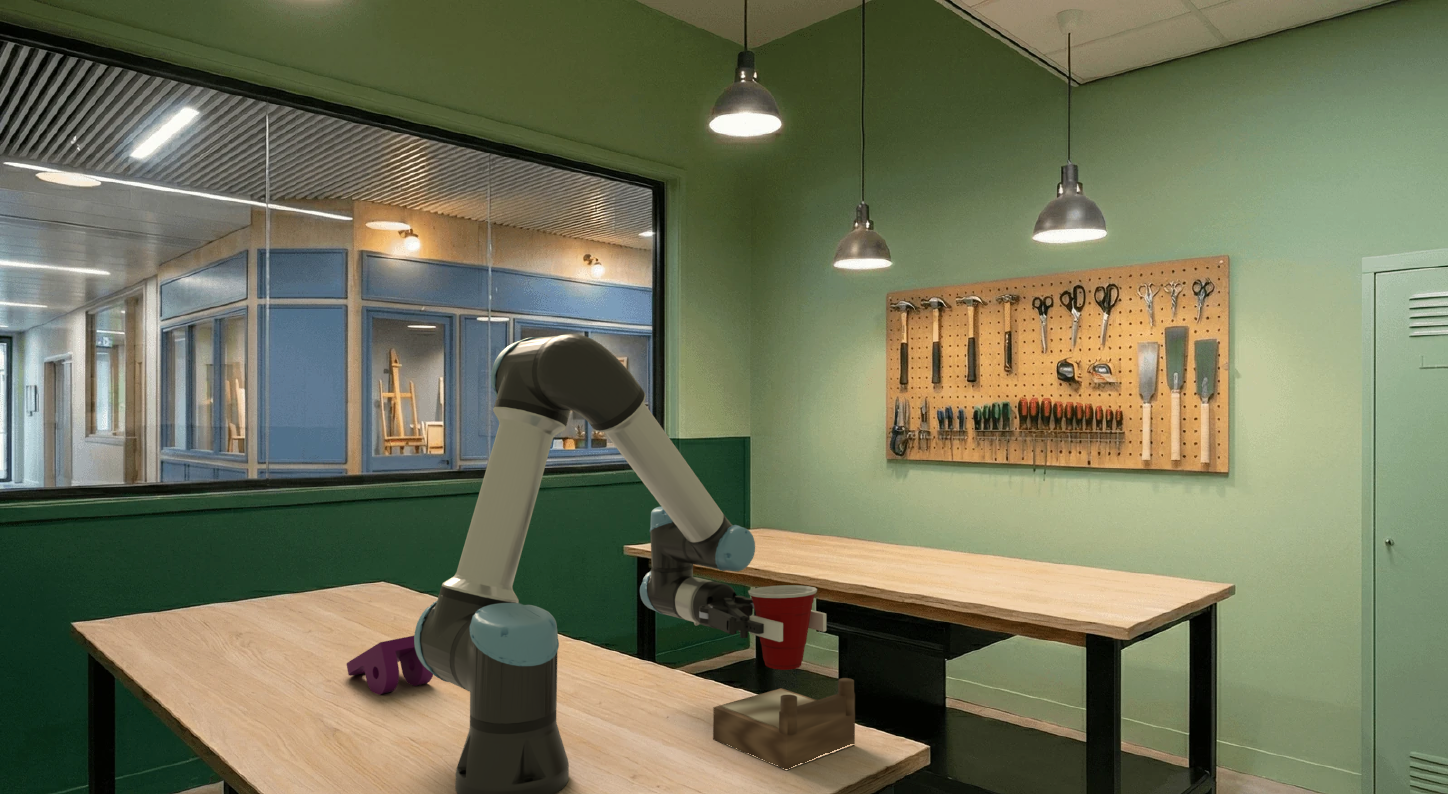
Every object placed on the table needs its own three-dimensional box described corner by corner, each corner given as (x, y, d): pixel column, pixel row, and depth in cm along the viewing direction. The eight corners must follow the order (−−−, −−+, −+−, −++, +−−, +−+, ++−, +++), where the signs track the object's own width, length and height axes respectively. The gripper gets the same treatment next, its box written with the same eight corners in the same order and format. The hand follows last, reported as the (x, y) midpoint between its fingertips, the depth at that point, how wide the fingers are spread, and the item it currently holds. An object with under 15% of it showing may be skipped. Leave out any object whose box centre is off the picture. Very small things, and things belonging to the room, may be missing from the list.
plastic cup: (785, 651, 146) (786, 578, 146) (831, 666, 137) (831, 589, 137) (733, 662, 139) (733, 585, 140) (777, 679, 131) (778, 597, 131)
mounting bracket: (346, 712, 167) (389, 689, 157) (338, 668, 170) (380, 642, 159) (393, 700, 174) (438, 677, 164) (385, 658, 177) (428, 632, 166)
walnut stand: (713, 739, 139) (713, 675, 139) (781, 718, 148) (781, 658, 149) (788, 771, 126) (788, 701, 126) (856, 746, 136) (857, 680, 136)
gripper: (753, 615, 159) (850, 640, 142) (656, 635, 145) (751, 665, 128) (753, 573, 159) (850, 593, 142) (657, 589, 145) (751, 613, 128)
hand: (803, 627), depth 135 cm, fingers closed on plastic cup, 9 cm apart
